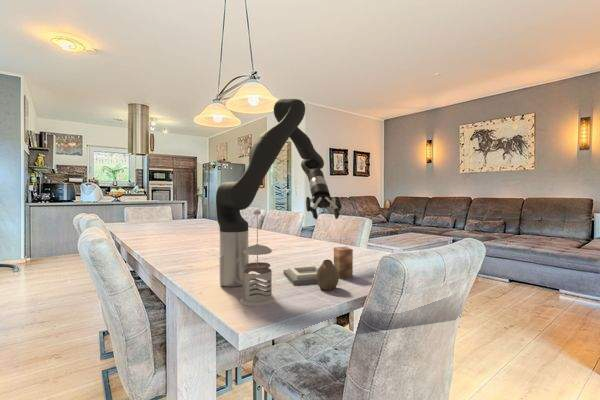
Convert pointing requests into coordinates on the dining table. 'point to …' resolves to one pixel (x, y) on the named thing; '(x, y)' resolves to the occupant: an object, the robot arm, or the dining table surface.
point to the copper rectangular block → (343, 262)
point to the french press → (256, 276)
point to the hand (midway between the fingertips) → (326, 217)
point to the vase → (327, 275)
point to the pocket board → (302, 274)
